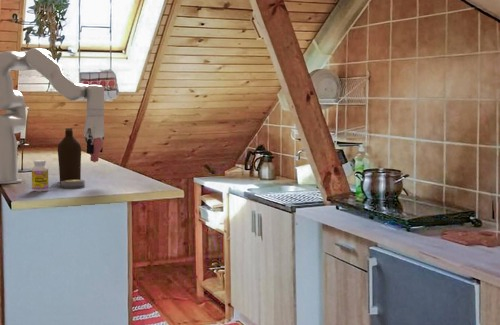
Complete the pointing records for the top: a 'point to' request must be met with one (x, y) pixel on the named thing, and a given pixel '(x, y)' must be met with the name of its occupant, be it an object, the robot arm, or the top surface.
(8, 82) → the robot arm
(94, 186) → the top surface
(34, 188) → the supplement bottle
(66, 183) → the socket base
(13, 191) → the top surface
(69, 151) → the olive oil
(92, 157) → the light bulb
